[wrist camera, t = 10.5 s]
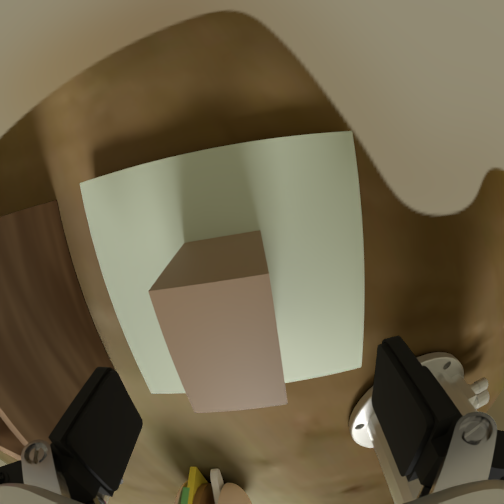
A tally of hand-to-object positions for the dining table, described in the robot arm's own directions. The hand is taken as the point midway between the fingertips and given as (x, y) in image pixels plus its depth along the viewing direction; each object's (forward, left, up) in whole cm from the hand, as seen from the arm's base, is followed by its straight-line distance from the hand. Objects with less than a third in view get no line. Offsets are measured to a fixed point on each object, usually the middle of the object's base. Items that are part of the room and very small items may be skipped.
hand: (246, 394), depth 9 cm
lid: (+1, -1, -8) cm, 9 cm away
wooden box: (+19, -1, -9) cm, 21 cm away
